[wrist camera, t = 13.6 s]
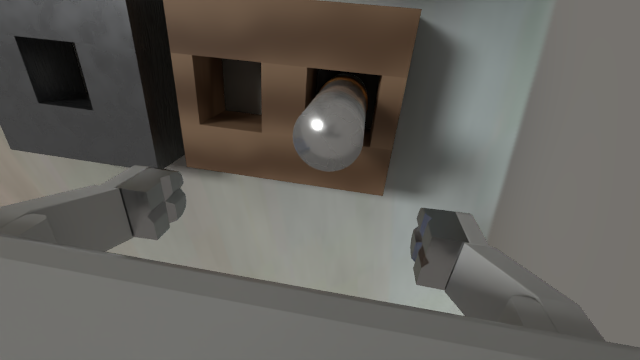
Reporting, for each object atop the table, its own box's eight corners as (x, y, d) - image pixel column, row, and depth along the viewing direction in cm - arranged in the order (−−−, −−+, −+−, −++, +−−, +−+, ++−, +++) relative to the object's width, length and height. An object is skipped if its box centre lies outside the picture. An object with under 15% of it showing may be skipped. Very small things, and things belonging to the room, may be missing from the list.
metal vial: (324, 69, 26) (292, 97, 16) (371, 74, 26) (370, 106, 15) (320, 115, 28) (289, 167, 18) (364, 121, 28) (359, 177, 17)
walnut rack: (198, -6, 25) (161, -13, 21) (412, 12, 23) (421, 9, 19) (212, 147, 32) (186, 166, 27) (381, 171, 30) (382, 195, 26)
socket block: (-2, -36, 27) (-75, -48, 22) (163, -23, 25) (118, -33, 21) (57, 133, 34) (11, 149, 30) (187, 152, 33) (158, 171, 28)
